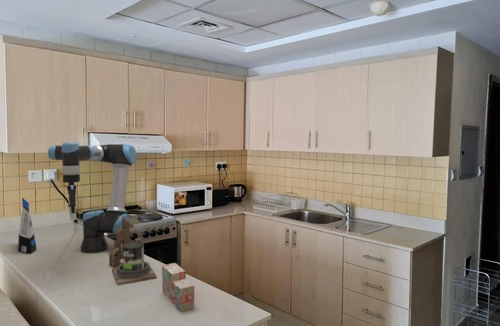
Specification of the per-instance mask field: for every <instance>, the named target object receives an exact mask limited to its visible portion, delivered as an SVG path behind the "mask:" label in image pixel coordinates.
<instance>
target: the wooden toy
mask: <svg viewBox="0 0 500 326" xmlns="http://www.w3.org/2000/svg"><path fill="white" fill-rule="evenodd" d="M134 227H135V225H133V223H131V222H130V221H129V222H128V221H127V220H126V219H125V218H123V217H122V228H119V229H118V230H117V231H116V234H115V239H116V240H113V250H112V252H110V253H108V264H109V265H108V266H110V267H111V268H112V269H113V268H117V267H118V266H119V265H120V264H121V260H123V256H122V245H123V244H125V243H129V242H131V236H130V235H131V231H130V229H131V228H134ZM141 239H142V238H139V237H137V238H134V242H142V240H141Z"/></svg>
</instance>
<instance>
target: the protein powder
mask: <svg viewBox="0 0 500 326" xmlns="http://www.w3.org/2000/svg"><path fill="white" fill-rule="evenodd" d="M21 200H22V205H21V206H22V211H21V216H20V225H19V226H20V227H19V233H18V245H17V247H18V252H19V253H22V254H25V255H26V254H27V255H32V254H33V253H35V252H36V251H37V250H38V249H37V242H36V238H35V232H34V226H33V222H32V221H33V220H32V216H31V215H30V204H29V202H28V200H26V199H25V198H24V197H22V198H21Z"/></svg>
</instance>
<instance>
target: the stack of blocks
mask: <svg viewBox="0 0 500 326" xmlns="http://www.w3.org/2000/svg"><path fill="white" fill-rule="evenodd" d="M161 275H162V277H161V278H162V293H163V294H164V295H165V296H166V297H167V299H168V300H169V301H170V302H171V303H172V304H174V306H175V308H176V309H177V310H179V311H180V312H182V311H186V310H190V309H194V308H195V285H194V284H193V283H192V282H191V281H190V280H189V279H187V275H186V270H185V269H183V268H182V267H181V266H179V265H178V264H177V263H176V262H173V263H172V262H171V263H168V264H163V265H161Z"/></svg>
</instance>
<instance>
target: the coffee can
mask: <svg viewBox="0 0 500 326" xmlns="http://www.w3.org/2000/svg"><path fill="white" fill-rule="evenodd" d="M144 246H145V243H143V242H142V241H141V242H135V241H130V242H129V243H125V244H123V245H122V244H121V251H122V256H123V259H122V264H123V270H124V271H136V270H141V269H143V268H144V262H145V255H144V254H145V249H144V248H145V247H144Z"/></svg>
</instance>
